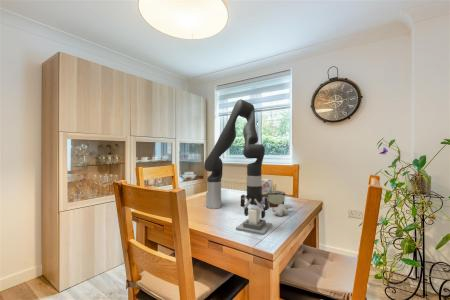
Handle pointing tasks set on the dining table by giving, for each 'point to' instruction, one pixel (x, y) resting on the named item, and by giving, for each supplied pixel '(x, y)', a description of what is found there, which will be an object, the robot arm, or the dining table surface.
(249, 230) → the socket plate
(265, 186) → the candy box
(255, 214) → the plug
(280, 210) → the bunny figurine
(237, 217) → the dining table surface
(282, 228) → the dining table surface
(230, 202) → the dining table surface
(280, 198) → the food container
